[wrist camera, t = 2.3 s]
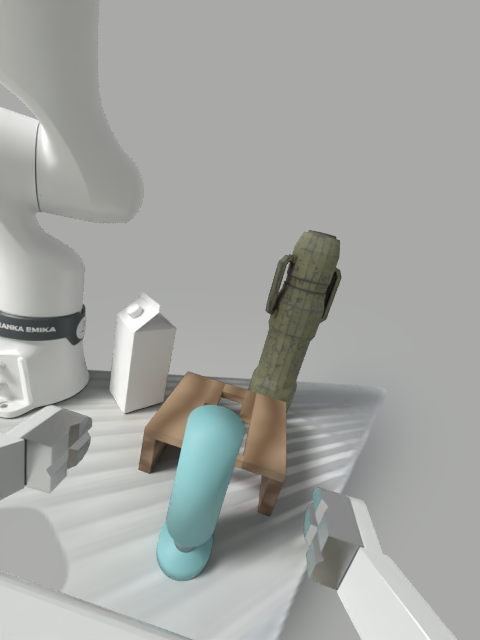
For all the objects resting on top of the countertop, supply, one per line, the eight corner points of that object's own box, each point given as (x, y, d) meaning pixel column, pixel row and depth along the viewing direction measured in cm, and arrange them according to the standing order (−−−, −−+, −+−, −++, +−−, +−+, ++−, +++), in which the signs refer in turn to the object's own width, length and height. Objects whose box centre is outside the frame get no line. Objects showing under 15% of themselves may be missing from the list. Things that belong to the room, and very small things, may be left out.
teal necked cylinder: (153, 583, 25) (182, 448, 20) (159, 520, 30) (184, 400, 25) (211, 578, 26) (254, 451, 21) (208, 519, 31) (241, 405, 26)
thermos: (301, 419, 53) (368, 245, 42) (248, 423, 49) (309, 227, 38) (280, 392, 61) (333, 238, 50) (233, 393, 56) (280, 223, 45)
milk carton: (146, 381, 53) (160, 291, 47) (163, 402, 48) (180, 305, 42) (108, 390, 48) (118, 290, 42) (123, 415, 43) (137, 306, 37)
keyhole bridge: (138, 469, 35) (144, 427, 33) (181, 403, 49) (187, 371, 47) (269, 515, 33) (286, 475, 31) (274, 434, 47) (286, 402, 45)
